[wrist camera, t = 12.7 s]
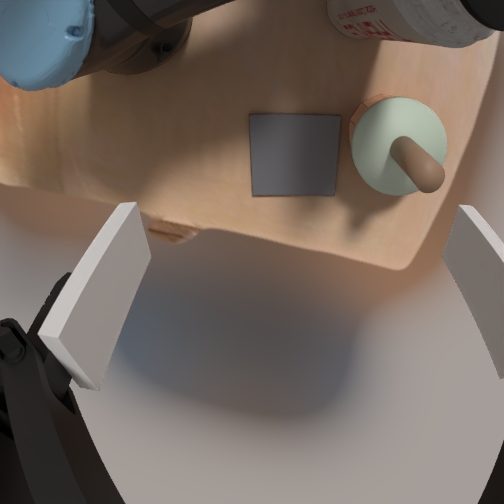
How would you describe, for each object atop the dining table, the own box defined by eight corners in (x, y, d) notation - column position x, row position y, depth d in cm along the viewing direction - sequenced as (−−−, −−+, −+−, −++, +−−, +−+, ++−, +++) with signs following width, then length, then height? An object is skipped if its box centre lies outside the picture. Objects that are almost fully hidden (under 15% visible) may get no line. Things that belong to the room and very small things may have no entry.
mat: (252, 193, 46) (252, 195, 46) (249, 114, 39) (249, 115, 39) (333, 193, 46) (334, 195, 45) (339, 115, 38) (340, 116, 38)
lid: (346, 188, 40) (363, 229, 32) (354, 90, 32) (380, 108, 24) (431, 193, 39) (461, 231, 31) (448, 104, 31) (489, 127, 23)
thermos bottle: (357, 50, 32) (493, 87, 10) (313, 7, 29) (397, -47, 7) (398, 17, 29) (560, 27, 7) (355, -27, 26) (483, -92, 4)
